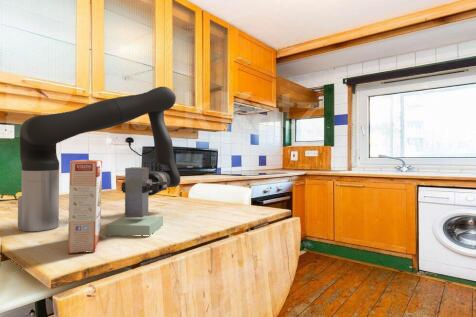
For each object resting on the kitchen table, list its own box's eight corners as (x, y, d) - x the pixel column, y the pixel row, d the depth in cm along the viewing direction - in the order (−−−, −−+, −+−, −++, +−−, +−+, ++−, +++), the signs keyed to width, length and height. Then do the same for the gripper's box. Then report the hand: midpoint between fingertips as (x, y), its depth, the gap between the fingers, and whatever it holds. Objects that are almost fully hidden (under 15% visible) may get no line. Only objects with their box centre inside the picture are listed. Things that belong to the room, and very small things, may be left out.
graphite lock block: (124, 217, 82) (125, 168, 82) (132, 213, 87) (132, 167, 87) (142, 217, 82) (142, 168, 82) (148, 213, 87) (148, 167, 87)
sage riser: (106, 235, 79) (106, 224, 79) (125, 225, 91) (125, 215, 91) (149, 236, 79) (149, 225, 79) (162, 225, 91) (162, 216, 91)
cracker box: (97, 252, 66) (98, 160, 65) (66, 255, 63) (67, 160, 63) (102, 235, 79) (103, 159, 78) (77, 237, 76) (77, 159, 76)
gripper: (132, 171, 99) (108, 175, 82) (174, 172, 99) (158, 176, 82) (132, 193, 99) (108, 201, 82) (173, 194, 99) (158, 202, 82)
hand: (133, 189), depth 82 cm, fingers closed on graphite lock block, 5 cm apart
